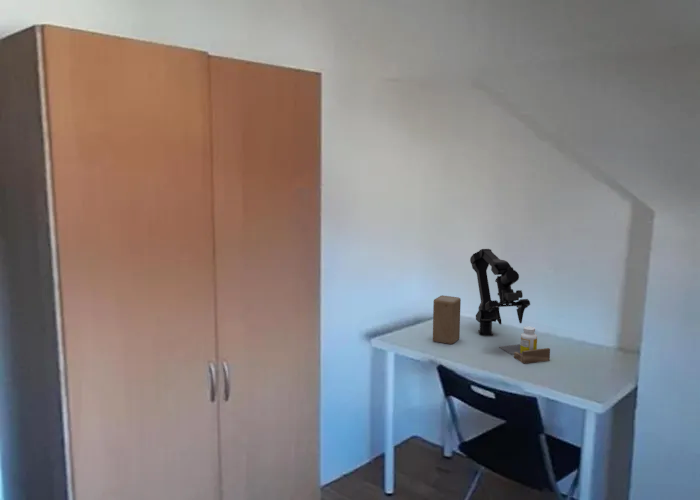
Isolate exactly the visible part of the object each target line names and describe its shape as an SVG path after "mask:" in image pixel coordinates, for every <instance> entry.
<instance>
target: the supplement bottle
mask: <svg viewBox="0 0 700 500" xmlns="http://www.w3.org/2000/svg"><path fill="white" fill-rule="evenodd" d="M522 330H523V332H522V333H521V334H520V345H521V346H520V354H521V355H523V351H527V350H536V349H538V335H537V333H535V332H536V327H534V326H529V325H528V326H523V329H522Z"/></svg>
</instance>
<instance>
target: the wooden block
mask: <svg viewBox="0 0 700 500" xmlns="http://www.w3.org/2000/svg"><path fill="white" fill-rule="evenodd" d="M432 311H433V313H432V316H433V318H432V319H433V320H432V341H433V342H436V343H442V344H448V345H453V344H454V343H456V342H457V341H458V340H459V339H460V336H461V335H460V333H461V330H460V329H461V326H460V325H461V298H460V297H459V296H458V297H457V296H449V295H440V296H438V297H436V298H434V299H433V310H432Z"/></svg>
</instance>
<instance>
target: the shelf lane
mask: <svg viewBox="0 0 700 500" xmlns="http://www.w3.org/2000/svg"><path fill="white" fill-rule="evenodd" d="M550 355H551V348H549V347H545V348H544V347H543V348H539V349H538V348H537V349H536V350H527V351H523V355H521V354H520V353H518V352H514V355H513V358H514V359H515V360H517V361H519V362H521V363H522V364H531V363H540V362H548V361H550V360H551V359H550V357H551V356H550Z"/></svg>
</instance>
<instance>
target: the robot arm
mask: <svg viewBox="0 0 700 500" xmlns="http://www.w3.org/2000/svg"><path fill="white" fill-rule="evenodd" d="M469 262H470V264H471V268H472V269H473V270H474V272H475V273H476V277H477V284H478V289H479V290H478V291H479V298H480V303H479V305H478V311H477V312H476V314H475V321H477V322H478V323H479V329H478V331H477V332H478V335H479V336H493V335H494V332H493V330H492V329H493V322H495V323H496V322H498V324H499V325H502V317H501V313H500V308H505V307H516V309H515V310H516V314H517V318H518V321H519V324H522V323H523V317H524V312H525V310H526V309H527V308H528V307H529V306H531V301H530V300H529V299H528V298H525V299H523V291H522V290H523V289H522V290H521V289H520V290H518V289H517V290H516V291H514V289H512V285H513V284H515V283H516V282H518V280H519V279H520V275H519V272H517V271H516V270H515V269H514V268H513V267H512V265H511V264H510V263H509V262H508V261H507V260H504V259H501V258H499V256H497V255H496V254H495V253H494V252H493V250H492V249H490V248H482V249H479V250H478V251H476V252H475V253H473V254H472V255H471V256H470V260H469ZM489 266H490V268H491V269H490V270H491V272H492V273H493V276H495V275H496V276H497V277H496V278H495V283H496V285H497V291H498V292H497V296H498V298H499V301H498V300H496V299H495V300H492V298H491V297H492V296H491V291H490V286H489V279H488V271H487V270H488V268H489Z"/></svg>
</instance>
